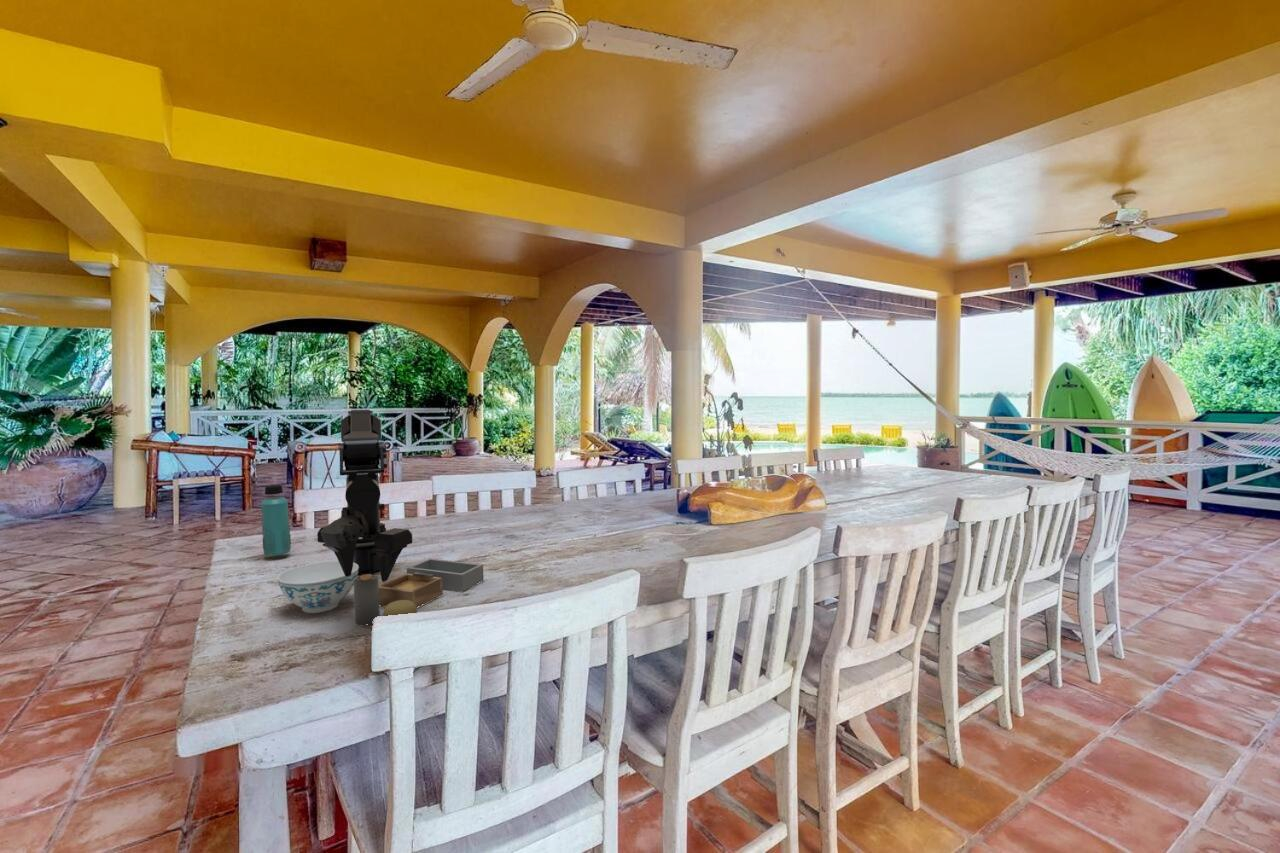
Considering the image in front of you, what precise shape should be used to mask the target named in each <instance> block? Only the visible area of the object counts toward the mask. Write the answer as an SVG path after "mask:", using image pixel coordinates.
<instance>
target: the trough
mask: <svg viewBox="0 0 1280 853" xmlns="http://www.w3.org/2000/svg"><path fill="white" fill-rule="evenodd" d="M415 572H418V573H426V574H434V577H439V578H442V585H443V590H444V589H446V590H445V591H451V590H455V591H454V592H458V591H464V592H466V591H467V589H468V590H469V588H470V587H471V588H473V587H474V585H475V586H477V585H478V584H477V583H479V582H481V581H483V580H484V579H485V578H484V564H482V563H481V564H479V563H471V562H462V561H454V560H447V559H438V558H428V559H425V560H423V561H420V562H418V563H415V564H412V565H411V566H408V567H406V574H407V573H408V574H413V573H415ZM483 582H484V581H483ZM481 583H482V582H481ZM476 584H477V585H476ZM479 584H480V583H479ZM472 586H473V587H472ZM471 588H470V589H471ZM465 590H466V591H465Z"/></svg>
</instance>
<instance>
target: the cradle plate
mask: <svg viewBox="0 0 1280 853" xmlns="http://www.w3.org/2000/svg"><path fill="white" fill-rule="evenodd" d="M427 583H428V582H420V581H413V580H407V581H405V582H402V583H400V584H398V585H396V586H393V587H391V588H397V589H404V590H411V591H412V590H414V589H416V588H418V587H420V586H422V585H425V584H427Z"/></svg>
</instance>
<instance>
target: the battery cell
mask: <svg viewBox="0 0 1280 853" xmlns="http://www.w3.org/2000/svg"><path fill="white" fill-rule="evenodd" d="M379 584H380V583H379V576H377V575H372V573H371V574H364V575H361V574H360V576H359V577H357V578H356V579H355V580H354V585H353V592H354V593H353V594H354V595H353V596H354V619H355V620H354V621H355V623H356V624H357V625H356V624H355V623H354V624H355V625H356V626H358V625H366V624H368V626H372V625H373V624H372V621H373V619H374V618H375V617H377V616H380V617H381V614H380V613H381V612H380V611H381V610H380V606H379ZM371 624H372V625H371Z"/></svg>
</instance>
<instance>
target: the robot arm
mask: <svg viewBox="0 0 1280 853" xmlns="http://www.w3.org/2000/svg"><path fill="white" fill-rule="evenodd" d="M373 411H374V410H371V409H351V410H348V411H347V413H348V414H347V416H345V417H344V418H343V419H341V420H340V438H341V443H339V476H347V477H346V478H345V479H346V487H345V501H346V504H347V506H345V507H342V509H341V511H340V512H341V514H340V515H341V516H340V517H339V518H338V519H335V520H333V521H332V522H331V523H329V524H328V525H325V526H322V527H320V528H319V530H318V531H317V533H316V534H317V543H320V544H321V543H322V546H323V547H325V548H328V549H329V550H331V551H332V552H334V555H335V556H336V558H337V561H339V563H340V565H341V568H342V570H343V572H344V574H345V576H346V577H348V576H350V575H351V573H352V568H353V563H356V564H357V565H358V566H359V569H358V574H357V575H360V576H361V575H364V574H371V575H372V574H373V573H376V572H379V571H380V578H381V582H383V583H386V582H388V580H389V577H390V575H391V574H392V570H393V568H394V566H395V564H396V562H397V560H398V558H399V557H400V555H401V552H402V551H403V549H404V548H407V547H408V545H410V544H411V545H412V544H413V533H412V531H411V530H409V529H406V528H398V527H397V528H396V527H394V528H391V529H387V527H386V524H385V523H383V522H381V510H384V509H385V503H380V499H381V489H380V481H379V480H380V479H379V475H378V474H384V473H385V469H388V459H387V458H388V456H387V455H388V454H387V447H386V446H385V443H383V441H382V424H381V423H382V422H381V421H382V420H381V419H380V418H379V417H377V416H375V415H374V412H373Z"/></svg>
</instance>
